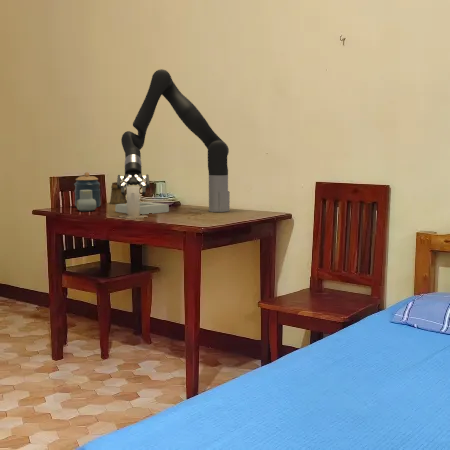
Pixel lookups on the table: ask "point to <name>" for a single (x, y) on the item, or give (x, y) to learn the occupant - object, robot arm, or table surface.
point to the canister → (87, 187)
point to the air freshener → (86, 201)
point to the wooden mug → (117, 194)
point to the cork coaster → (133, 217)
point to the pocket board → (145, 208)
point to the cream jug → (133, 201)
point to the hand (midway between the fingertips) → (133, 194)
